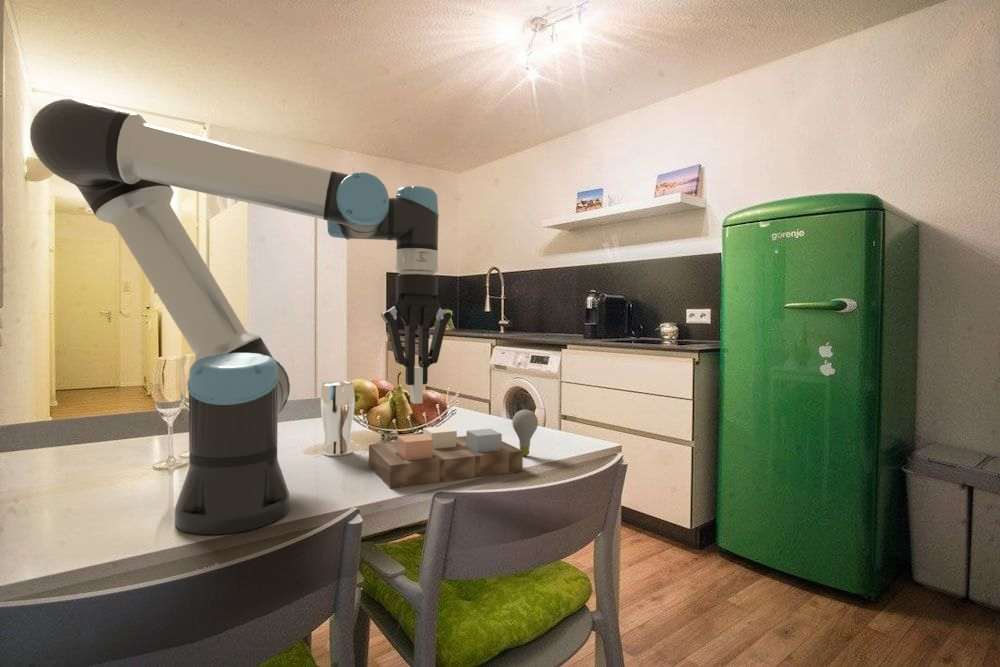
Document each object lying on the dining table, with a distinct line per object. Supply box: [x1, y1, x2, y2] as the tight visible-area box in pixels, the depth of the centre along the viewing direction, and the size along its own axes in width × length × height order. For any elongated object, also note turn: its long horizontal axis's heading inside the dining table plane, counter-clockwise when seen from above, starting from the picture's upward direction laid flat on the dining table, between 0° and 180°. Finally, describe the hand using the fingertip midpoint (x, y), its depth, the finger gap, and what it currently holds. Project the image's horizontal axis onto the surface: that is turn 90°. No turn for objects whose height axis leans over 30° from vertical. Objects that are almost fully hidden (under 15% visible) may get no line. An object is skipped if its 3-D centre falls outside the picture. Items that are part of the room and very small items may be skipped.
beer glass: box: [320, 381, 356, 457], centre depth 116 cm, size 7×7×15 cm
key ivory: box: [422, 425, 458, 449], centre depth 109 cm, size 5×5×5 cm
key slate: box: [466, 428, 503, 453], centre depth 106 cm, size 5×5×5 cm
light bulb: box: [511, 409, 539, 457], centre depth 116 cm, size 6×5×10 cm
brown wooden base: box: [368, 435, 524, 489], centre depth 106 cm, size 26×16×4 cm, turn 116°
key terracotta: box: [397, 433, 433, 461], centre depth 100 cm, size 5×5×5 cm
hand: (416, 402), depth 100 cm, fingers closed
